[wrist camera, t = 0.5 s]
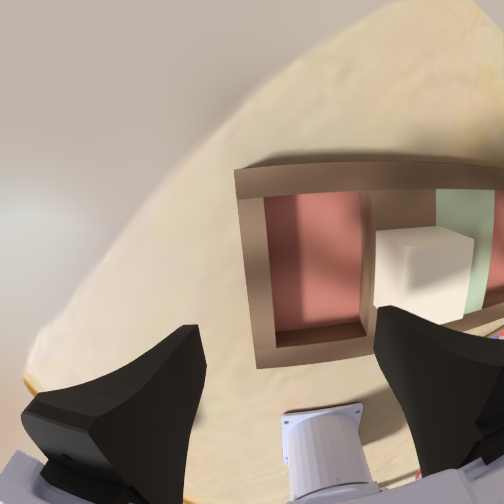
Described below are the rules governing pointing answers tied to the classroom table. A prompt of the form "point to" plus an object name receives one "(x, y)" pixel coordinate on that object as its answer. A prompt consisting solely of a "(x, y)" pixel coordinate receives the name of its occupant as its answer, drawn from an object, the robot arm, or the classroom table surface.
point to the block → (423, 271)
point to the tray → (354, 248)
